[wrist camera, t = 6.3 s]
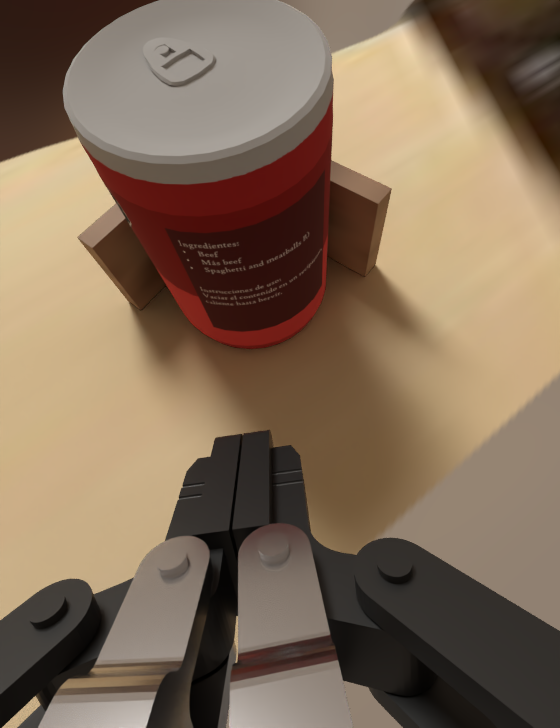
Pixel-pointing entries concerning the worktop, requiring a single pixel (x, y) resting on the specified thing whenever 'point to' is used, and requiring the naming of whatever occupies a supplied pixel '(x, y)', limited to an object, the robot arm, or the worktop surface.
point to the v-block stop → (345, 245)
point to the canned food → (217, 155)
